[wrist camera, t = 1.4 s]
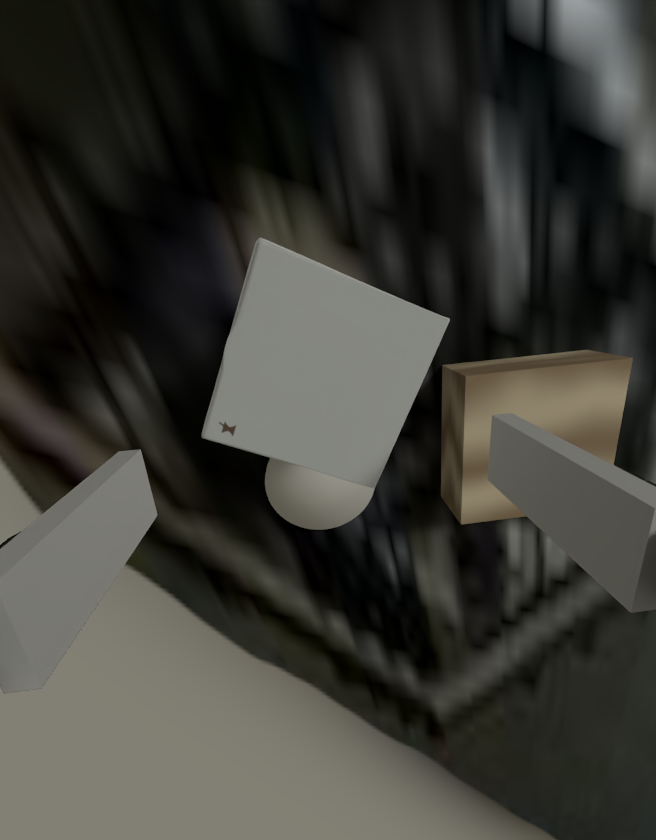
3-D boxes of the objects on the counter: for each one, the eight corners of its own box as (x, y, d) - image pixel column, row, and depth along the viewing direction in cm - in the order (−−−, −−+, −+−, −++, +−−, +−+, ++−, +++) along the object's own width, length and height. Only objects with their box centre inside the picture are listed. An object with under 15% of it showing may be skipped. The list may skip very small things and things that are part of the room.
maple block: (440, 364, 32) (465, 376, 27) (583, 349, 32) (632, 358, 27) (439, 494, 36) (461, 524, 31) (566, 479, 36) (606, 506, 32)
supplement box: (341, 410, 32) (375, 498, 18) (242, 376, 30) (192, 443, 16) (382, 309, 29) (459, 317, 15) (276, 266, 28) (253, 231, 14)
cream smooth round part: (259, 431, 32) (257, 436, 31) (371, 420, 32) (373, 424, 31) (273, 527, 35) (272, 535, 34) (374, 516, 36) (377, 523, 34)
